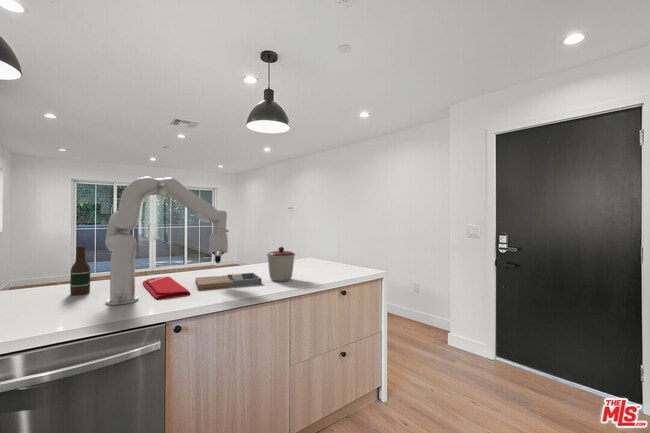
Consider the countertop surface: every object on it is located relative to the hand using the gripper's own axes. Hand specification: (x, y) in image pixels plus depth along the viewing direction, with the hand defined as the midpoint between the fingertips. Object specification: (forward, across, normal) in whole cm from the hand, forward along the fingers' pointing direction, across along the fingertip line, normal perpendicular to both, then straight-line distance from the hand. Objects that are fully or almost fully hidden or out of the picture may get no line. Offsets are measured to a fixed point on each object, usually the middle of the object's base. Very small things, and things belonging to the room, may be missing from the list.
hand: (217, 262), depth 177 cm
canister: (+12, -38, +2) cm, 40 cm away
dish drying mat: (+14, +27, 0) cm, 30 cm away
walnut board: (+13, +2, -1) cm, 13 cm away
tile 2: (+12, -12, 0) cm, 17 cm away
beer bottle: (+15, +64, -7) cm, 67 cm away
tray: (+12, -15, -1) cm, 20 cm away
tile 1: (+9, -11, 0) cm, 15 cm away
